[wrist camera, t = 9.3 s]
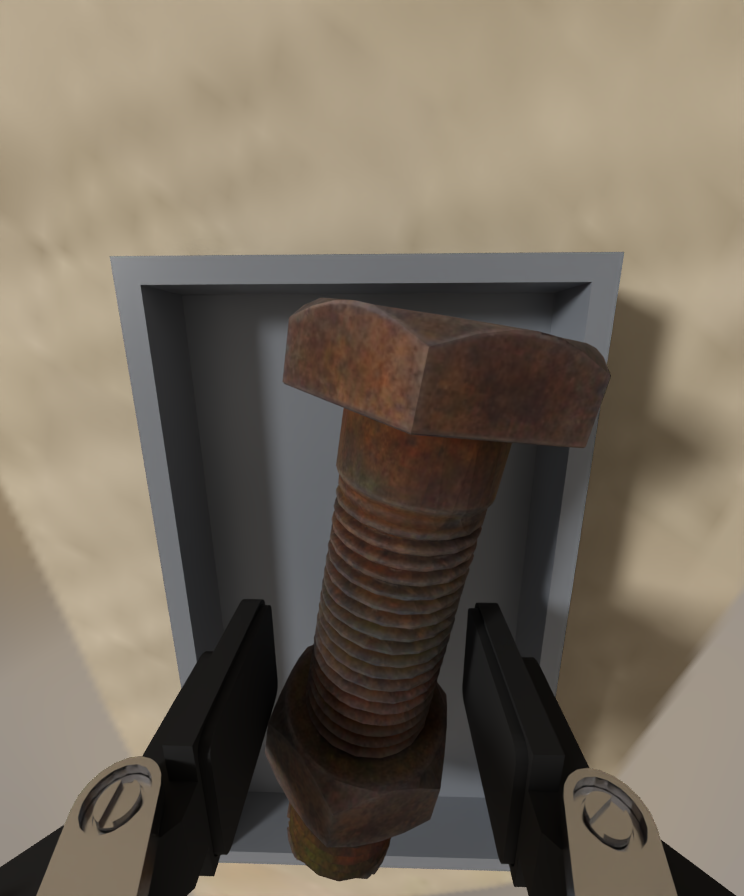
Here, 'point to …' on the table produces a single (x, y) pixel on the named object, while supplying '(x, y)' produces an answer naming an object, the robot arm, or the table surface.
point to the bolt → (403, 551)
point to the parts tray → (316, 478)
